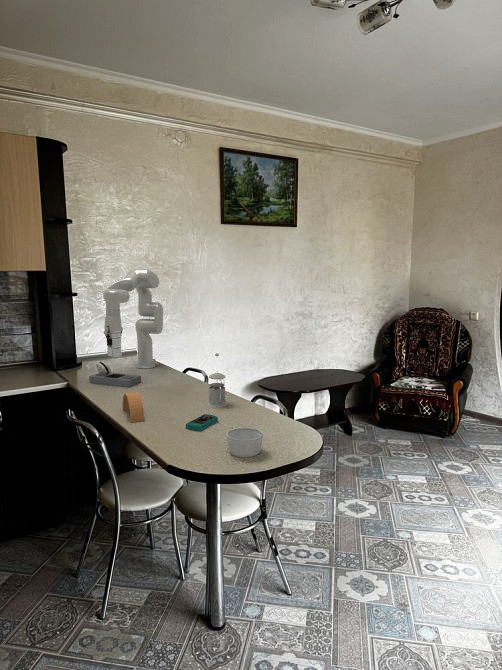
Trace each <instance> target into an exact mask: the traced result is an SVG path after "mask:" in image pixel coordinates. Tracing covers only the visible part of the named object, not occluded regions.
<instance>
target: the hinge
mask: <svg viewBox="0 0 502 670" xmlns="http://www.w3.org/2000/svg"><path fill="white" fill-rule="evenodd" d="M95 367H96V369H97V373H101V372H109V373H113V372H112V370H111V368H110V366H109V364H107V362H105V361H103V360H102V361H99V362H97V363H95Z"/></svg>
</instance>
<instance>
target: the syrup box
mask: <svg viewBox="0 0 502 670" xmlns="http://www.w3.org/2000/svg"><path fill="white" fill-rule="evenodd" d="M109 333H111V332H109ZM121 335H122V334H121V331H115V332H114V333H113V334H112V346H108V345H107V344H106V346H107V347H106V348H107V357H110V358H118V357H119V358H120V357H122V356H123V355H122V336H121ZM109 336H110V334H109Z"/></svg>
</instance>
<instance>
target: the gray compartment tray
mask: <svg viewBox="0 0 502 670" xmlns="http://www.w3.org/2000/svg"><path fill="white" fill-rule="evenodd" d="M88 379H89V384H91V385H92V384H93V385H102V386H104V385H105V386H110V385H111V386H112V387H119V388H121V387H122V388H131V387H134V386H136V385H138V384H141V383H142V375H139V374H129V373H127V374H126V373H119V372H118V373H117V372H112V373H109V372H101V373H99V372H97V373H96V374H92V375H90V376H89V377H88Z"/></svg>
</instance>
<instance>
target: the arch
mask: <svg viewBox="0 0 502 670" xmlns="http://www.w3.org/2000/svg"><path fill="white" fill-rule="evenodd" d="M142 401H143V400H142V397H141V395H140V393H139V392H138V391H136V392H126V393H125V392H124V393H123V397H122V411H126V410H127V409H129V415H130V423H139V422H145V414H144V412H145V411H144V406H143V402H142ZM127 411H128V410H127Z"/></svg>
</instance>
